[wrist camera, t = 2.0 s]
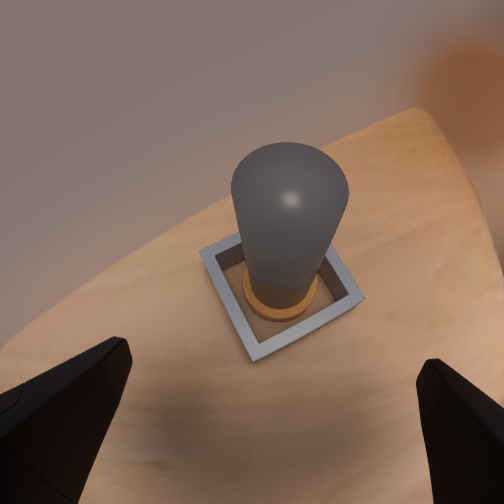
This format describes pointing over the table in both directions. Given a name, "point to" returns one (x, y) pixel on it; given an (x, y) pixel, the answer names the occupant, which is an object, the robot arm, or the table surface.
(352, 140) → the table surface
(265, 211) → the plug
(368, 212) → the table surface
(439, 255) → the table surface
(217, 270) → the socket
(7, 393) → the robot arm
